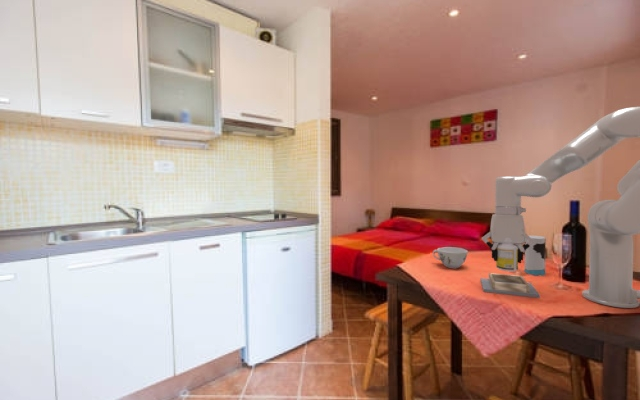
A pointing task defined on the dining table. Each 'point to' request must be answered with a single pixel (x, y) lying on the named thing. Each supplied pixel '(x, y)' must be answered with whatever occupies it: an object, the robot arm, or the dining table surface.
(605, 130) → the robot arm
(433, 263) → the dining table surface
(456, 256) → the teacup
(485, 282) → the dock board
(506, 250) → the pill bottle
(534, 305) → the dining table surface
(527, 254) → the milk carton
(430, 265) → the dining table surface
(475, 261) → the dining table surface
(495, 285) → the beige square tray
